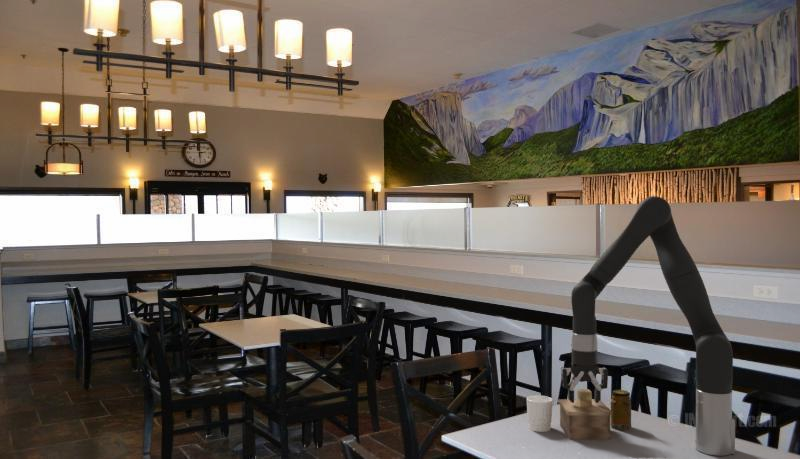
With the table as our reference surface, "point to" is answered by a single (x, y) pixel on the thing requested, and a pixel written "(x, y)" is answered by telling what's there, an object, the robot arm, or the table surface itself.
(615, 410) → the condiment
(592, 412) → the lid
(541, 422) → the white cup
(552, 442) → the table surface
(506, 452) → the table surface
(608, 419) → the box
